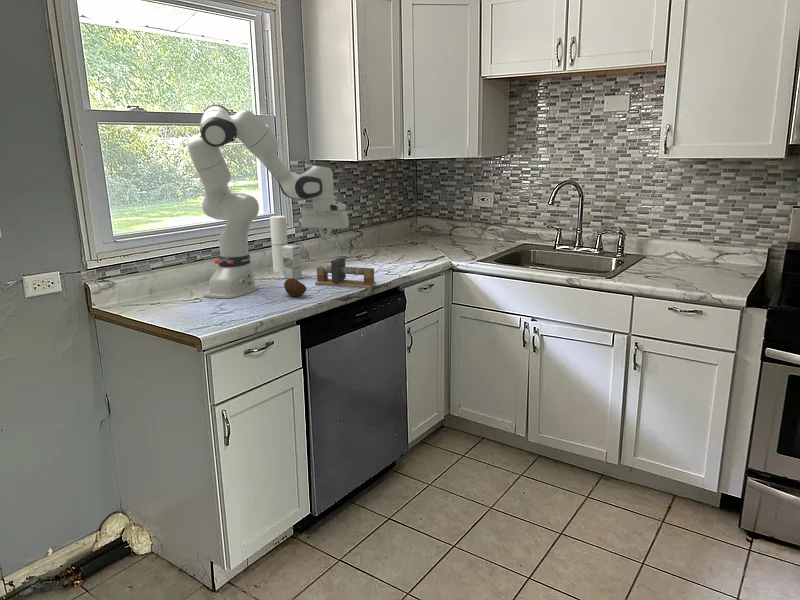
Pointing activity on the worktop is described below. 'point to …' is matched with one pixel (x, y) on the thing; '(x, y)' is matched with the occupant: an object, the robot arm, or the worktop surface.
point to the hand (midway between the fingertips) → (325, 238)
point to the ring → (337, 269)
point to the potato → (294, 287)
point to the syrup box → (292, 261)
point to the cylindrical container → (278, 241)
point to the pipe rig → (367, 283)
